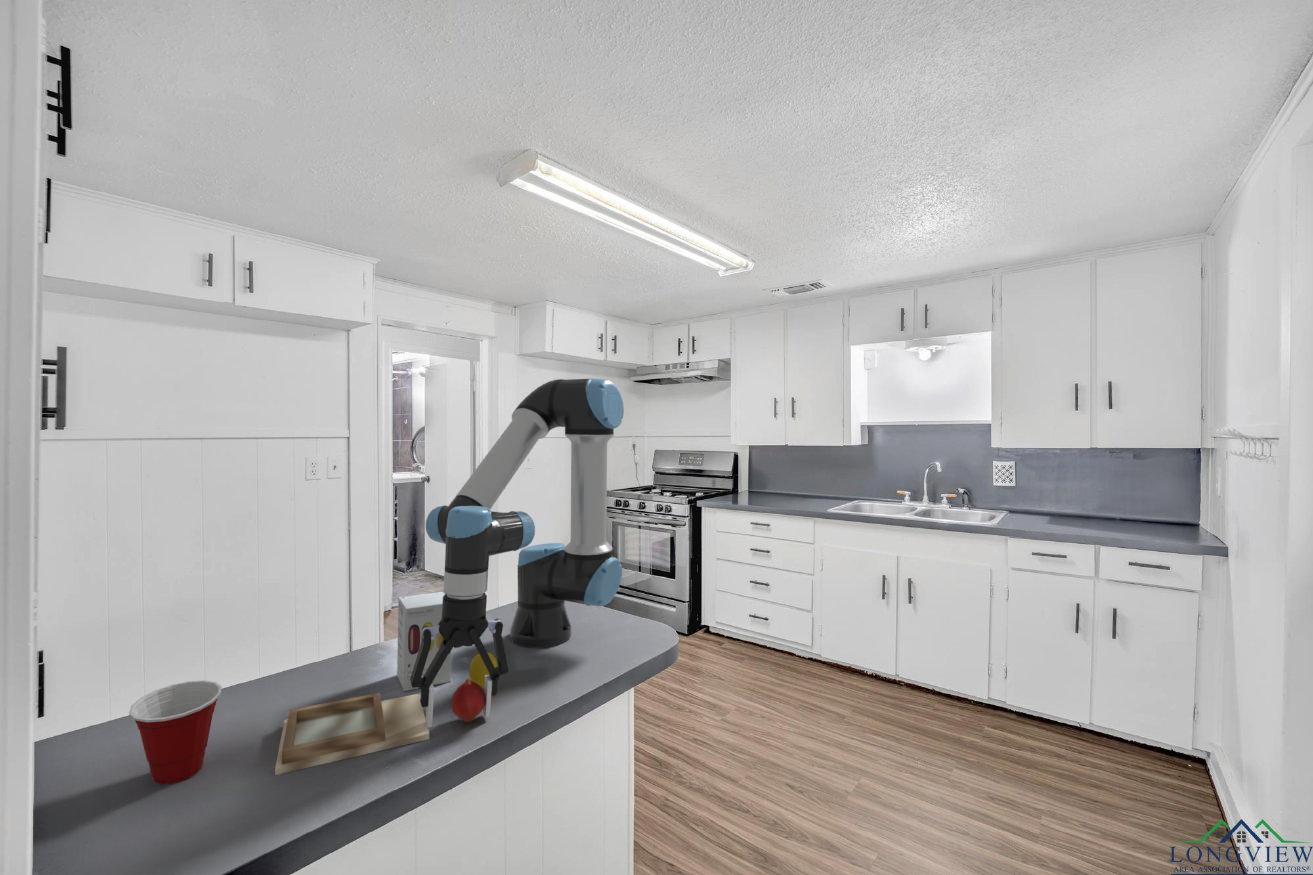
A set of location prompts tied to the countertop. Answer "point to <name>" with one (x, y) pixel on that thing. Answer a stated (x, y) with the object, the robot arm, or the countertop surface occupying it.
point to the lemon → (480, 669)
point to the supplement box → (419, 636)
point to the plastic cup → (176, 728)
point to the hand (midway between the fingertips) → (458, 718)
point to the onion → (468, 700)
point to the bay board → (348, 730)
